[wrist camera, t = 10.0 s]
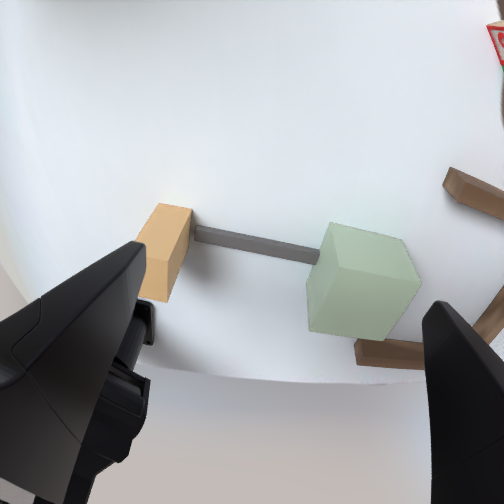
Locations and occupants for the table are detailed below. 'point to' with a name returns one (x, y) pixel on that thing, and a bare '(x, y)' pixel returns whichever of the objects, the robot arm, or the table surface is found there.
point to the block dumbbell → (324, 262)
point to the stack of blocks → (498, 38)
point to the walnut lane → (492, 320)
